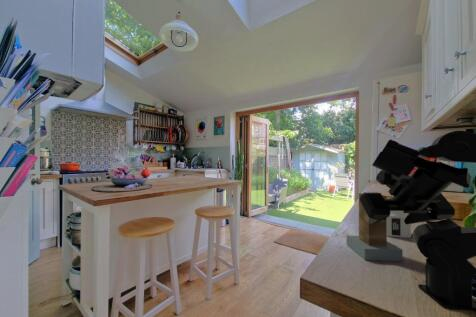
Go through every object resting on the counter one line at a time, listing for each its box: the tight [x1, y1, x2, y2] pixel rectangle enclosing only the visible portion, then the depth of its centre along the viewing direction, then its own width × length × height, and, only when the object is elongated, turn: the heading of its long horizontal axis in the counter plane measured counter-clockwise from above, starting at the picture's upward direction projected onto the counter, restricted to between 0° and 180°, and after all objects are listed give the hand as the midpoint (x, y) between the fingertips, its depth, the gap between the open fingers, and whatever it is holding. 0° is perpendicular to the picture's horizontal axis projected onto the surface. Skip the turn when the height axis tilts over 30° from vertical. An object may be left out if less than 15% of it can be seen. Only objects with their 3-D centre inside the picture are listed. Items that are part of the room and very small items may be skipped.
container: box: [386, 197, 412, 239], centre depth 77 cm, size 8×8×13 cm
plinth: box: [346, 235, 404, 262], centre depth 61 cm, size 10×10×3 cm
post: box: [358, 192, 388, 246], centre depth 61 cm, size 5×5×14 cm
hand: (387, 222), depth 55 cm, fingers open, 9 cm apart
